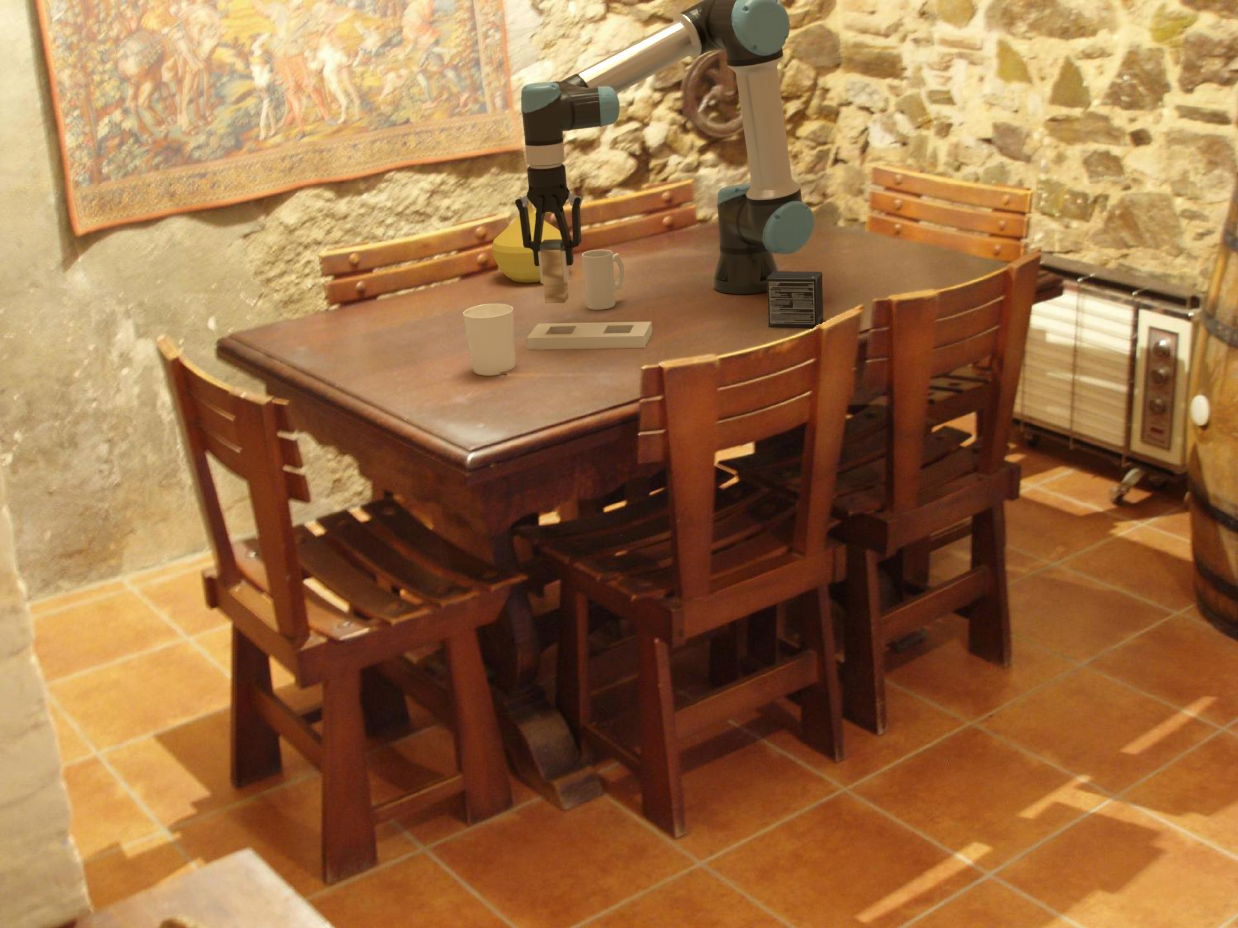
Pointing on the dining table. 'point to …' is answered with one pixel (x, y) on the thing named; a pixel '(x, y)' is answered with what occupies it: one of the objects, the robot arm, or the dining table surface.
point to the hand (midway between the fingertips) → (555, 281)
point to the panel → (590, 335)
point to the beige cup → (490, 338)
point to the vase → (520, 250)
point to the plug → (553, 271)
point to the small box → (795, 299)
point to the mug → (601, 278)
